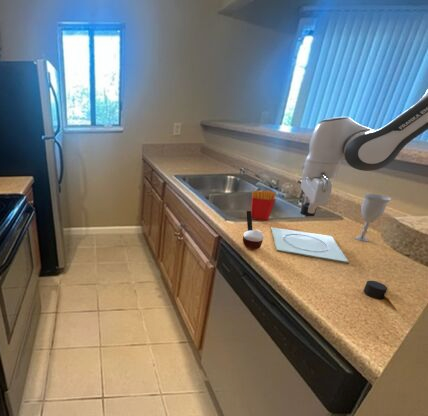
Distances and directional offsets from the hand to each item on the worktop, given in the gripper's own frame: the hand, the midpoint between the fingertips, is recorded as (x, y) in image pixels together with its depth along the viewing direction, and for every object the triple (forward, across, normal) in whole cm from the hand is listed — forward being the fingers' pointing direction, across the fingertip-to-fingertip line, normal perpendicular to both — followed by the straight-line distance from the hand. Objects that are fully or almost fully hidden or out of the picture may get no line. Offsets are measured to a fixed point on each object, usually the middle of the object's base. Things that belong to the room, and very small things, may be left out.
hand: (308, 209), depth 93 cm
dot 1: (+2, 0, 0) cm, 2 cm away
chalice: (+14, +12, -21) cm, 28 cm away
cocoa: (+15, -6, +15) cm, 22 cm away
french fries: (+15, +24, +11) cm, 30 cm away
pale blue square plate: (+14, +4, -3) cm, 15 cm away
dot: (+14, -22, -14) cm, 30 cm away
